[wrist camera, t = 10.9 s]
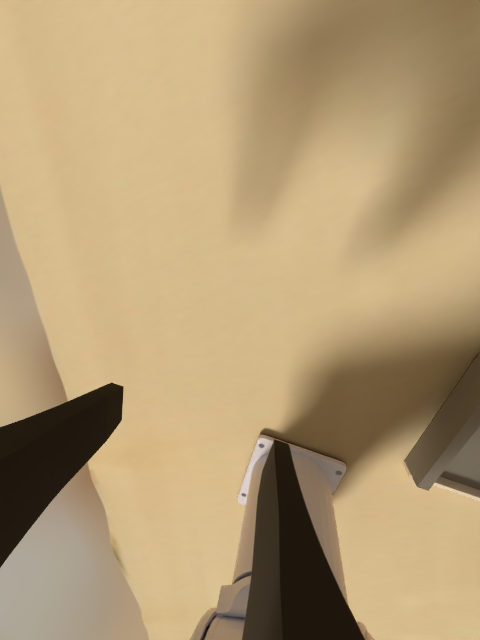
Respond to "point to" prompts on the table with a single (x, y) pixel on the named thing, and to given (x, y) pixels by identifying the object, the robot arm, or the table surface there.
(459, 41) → the table surface
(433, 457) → the grey tray
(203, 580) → the table surface
